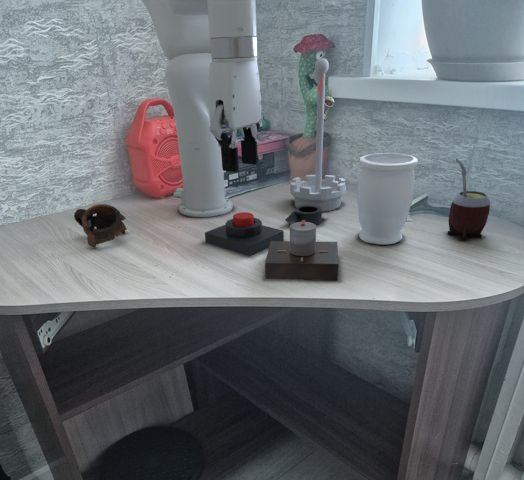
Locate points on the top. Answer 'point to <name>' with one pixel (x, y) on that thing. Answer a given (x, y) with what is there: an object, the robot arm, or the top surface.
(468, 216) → the mate gourd
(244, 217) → the button
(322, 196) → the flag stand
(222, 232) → the button block
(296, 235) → the dial
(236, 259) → the top surface
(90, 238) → the rusty brown ring housing
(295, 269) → the dial panel
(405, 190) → the jar
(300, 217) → the black wing nut
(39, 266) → the top surface
